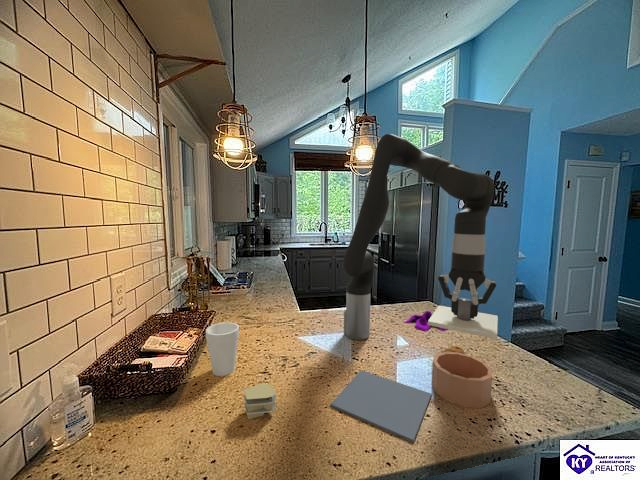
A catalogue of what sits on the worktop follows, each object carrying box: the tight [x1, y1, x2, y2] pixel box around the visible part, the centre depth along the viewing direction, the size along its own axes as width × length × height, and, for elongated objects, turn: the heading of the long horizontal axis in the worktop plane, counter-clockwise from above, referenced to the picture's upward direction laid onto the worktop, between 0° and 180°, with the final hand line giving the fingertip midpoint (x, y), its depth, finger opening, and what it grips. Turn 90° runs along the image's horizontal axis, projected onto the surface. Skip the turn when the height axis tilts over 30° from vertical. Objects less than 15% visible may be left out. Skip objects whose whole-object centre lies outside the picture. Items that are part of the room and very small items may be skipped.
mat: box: [329, 369, 432, 443], centre depth 71 cm, size 20×18×1 cm
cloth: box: [404, 310, 447, 332], centre depth 122 cm, size 22×19×6 cm
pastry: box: [441, 345, 466, 354], centre depth 90 cm, size 9×7×4 cm
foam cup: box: [205, 322, 240, 377], centre depth 83 cm, size 10×9×13 cm
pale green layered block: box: [243, 382, 277, 420], centre depth 66 cm, size 10×9×6 cm
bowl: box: [431, 351, 493, 409], centre depth 75 cm, size 14×14×7 cm
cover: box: [428, 297, 499, 340], centre depth 73 cm, size 15×15×6 cm
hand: (464, 315), depth 73 cm, fingers closed on cover, 3 cm apart
